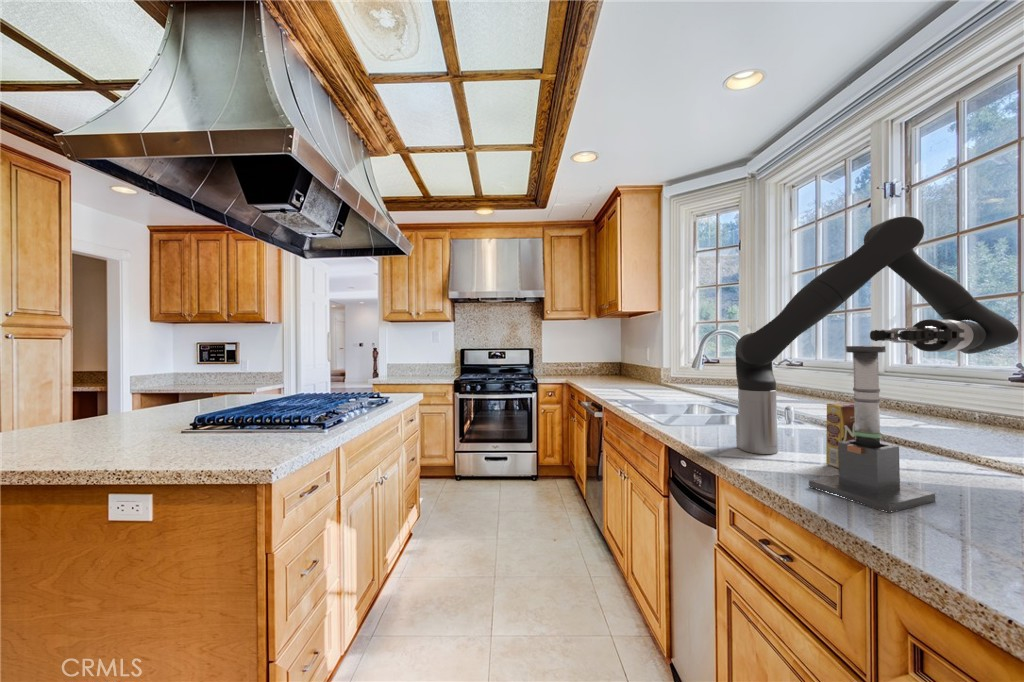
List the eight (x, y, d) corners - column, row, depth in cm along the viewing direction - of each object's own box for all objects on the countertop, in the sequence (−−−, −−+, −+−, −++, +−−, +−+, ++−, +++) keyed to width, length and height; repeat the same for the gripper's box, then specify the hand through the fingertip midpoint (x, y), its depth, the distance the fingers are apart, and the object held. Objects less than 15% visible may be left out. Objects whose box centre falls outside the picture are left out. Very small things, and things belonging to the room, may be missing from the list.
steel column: (841, 449, 84) (838, 346, 84) (860, 446, 86) (858, 345, 86) (875, 456, 78) (873, 346, 78) (895, 453, 80) (892, 345, 80)
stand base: (809, 487, 86) (807, 440, 86) (852, 478, 91) (851, 433, 91) (889, 513, 73) (887, 457, 73) (935, 501, 77) (934, 448, 77)
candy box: (842, 470, 97) (840, 405, 97) (825, 464, 101) (824, 403, 101) (874, 467, 98) (873, 404, 98) (857, 462, 102) (855, 401, 102)
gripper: (903, 320, 101) (858, 319, 97) (984, 317, 88) (936, 316, 83) (903, 350, 101) (858, 351, 97) (984, 352, 88) (936, 353, 83)
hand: (894, 335), depth 90 cm, fingers open, 8 cm apart
